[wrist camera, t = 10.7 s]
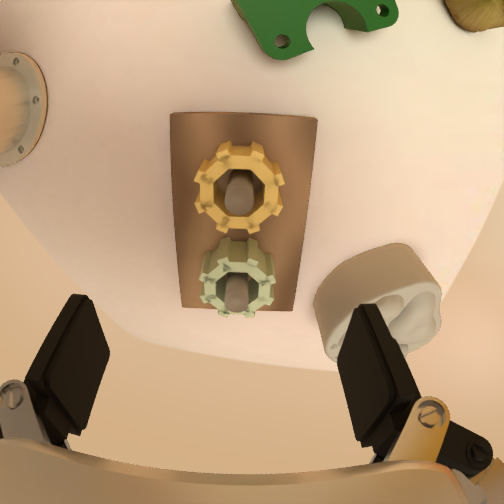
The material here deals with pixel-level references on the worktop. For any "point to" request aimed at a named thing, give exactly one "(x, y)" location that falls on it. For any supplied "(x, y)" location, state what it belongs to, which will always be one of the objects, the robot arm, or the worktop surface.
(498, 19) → the fennel bulb
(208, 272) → the sage gear
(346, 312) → the lumpy-topped squat cylinder
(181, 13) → the worktop surface
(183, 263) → the gear board
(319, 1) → the clamp
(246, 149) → the mustard gear
